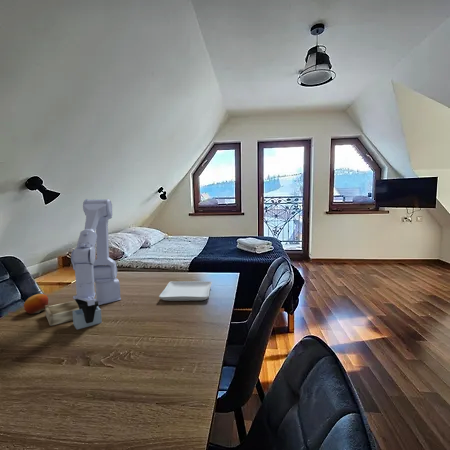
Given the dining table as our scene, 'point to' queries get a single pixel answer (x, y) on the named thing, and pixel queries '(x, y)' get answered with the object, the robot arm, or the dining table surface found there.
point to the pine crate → (60, 312)
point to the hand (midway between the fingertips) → (87, 319)
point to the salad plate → (186, 291)
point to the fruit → (36, 303)
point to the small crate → (80, 319)
